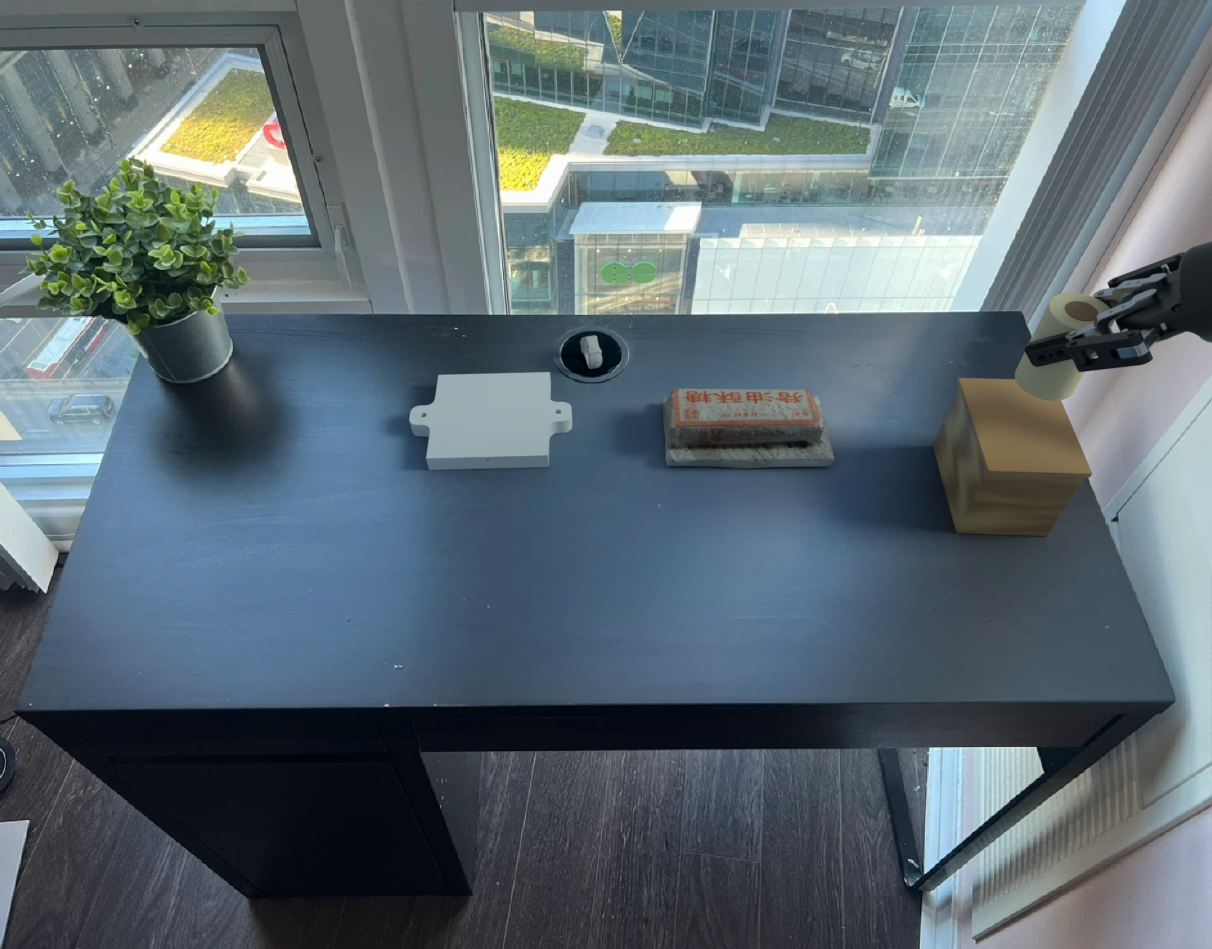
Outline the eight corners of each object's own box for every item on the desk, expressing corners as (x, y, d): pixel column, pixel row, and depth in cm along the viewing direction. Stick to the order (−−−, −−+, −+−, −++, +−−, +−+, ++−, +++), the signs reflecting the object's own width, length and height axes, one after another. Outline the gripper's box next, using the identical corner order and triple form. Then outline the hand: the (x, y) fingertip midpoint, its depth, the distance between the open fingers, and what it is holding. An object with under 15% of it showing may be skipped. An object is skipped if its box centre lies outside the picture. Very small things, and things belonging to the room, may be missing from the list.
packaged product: (667, 439, 87) (663, 373, 93) (665, 469, 91) (661, 404, 97) (842, 438, 87) (826, 372, 93) (832, 469, 90) (818, 403, 97)
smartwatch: (604, 373, 100) (604, 347, 97) (587, 376, 100) (586, 350, 97) (597, 354, 103) (596, 328, 100) (580, 357, 102) (579, 331, 99)
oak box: (1049, 538, 84) (1093, 473, 77) (954, 535, 85) (988, 470, 77) (1016, 446, 92) (1052, 380, 85) (930, 444, 93) (958, 377, 85)
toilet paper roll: (1067, 409, 74) (1107, 338, 68) (1007, 387, 76) (1042, 316, 70) (1080, 374, 77) (1121, 304, 71) (1023, 354, 79) (1057, 284, 73)
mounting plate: (405, 470, 91) (402, 458, 89) (419, 387, 99) (416, 375, 98) (572, 466, 91) (571, 454, 89) (572, 383, 99) (571, 371, 98)
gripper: (1276, 187, 63) (1052, 263, 77) (1228, 281, 56) (990, 345, 70) (1311, 273, 65) (1086, 331, 79) (1269, 374, 58) (1030, 418, 72)
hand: (1042, 337), depth 74 cm, fingers closed on toilet paper roll, 5 cm apart
